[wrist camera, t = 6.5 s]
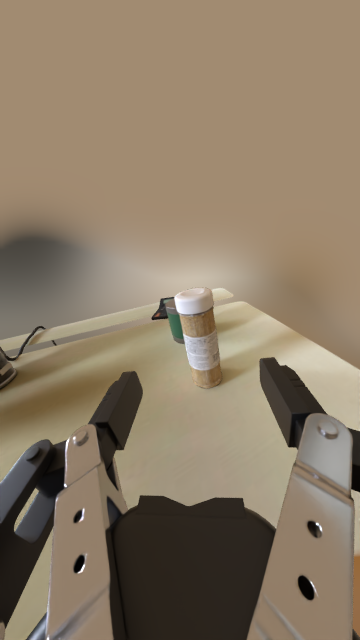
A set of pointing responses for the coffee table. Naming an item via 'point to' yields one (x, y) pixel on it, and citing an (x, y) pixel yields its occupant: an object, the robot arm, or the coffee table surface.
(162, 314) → the calculator
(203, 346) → the spice jar
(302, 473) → the robot arm
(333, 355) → the coffee table surface
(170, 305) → the tin can
